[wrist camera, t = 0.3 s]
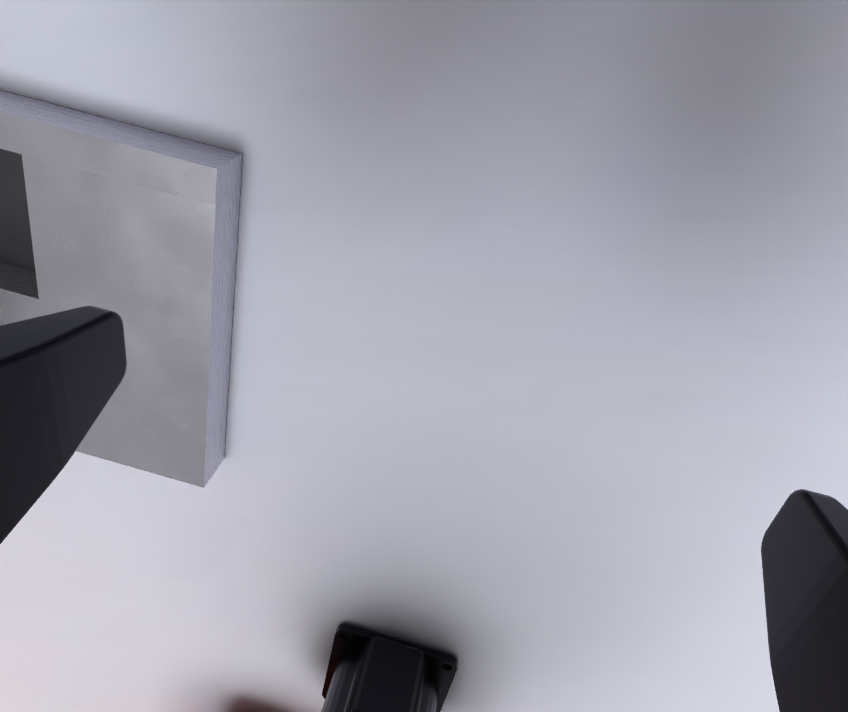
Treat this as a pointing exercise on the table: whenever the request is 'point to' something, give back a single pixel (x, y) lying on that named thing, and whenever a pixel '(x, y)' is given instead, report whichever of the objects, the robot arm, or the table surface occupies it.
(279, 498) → the table surface
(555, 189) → the table surface
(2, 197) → the socket
